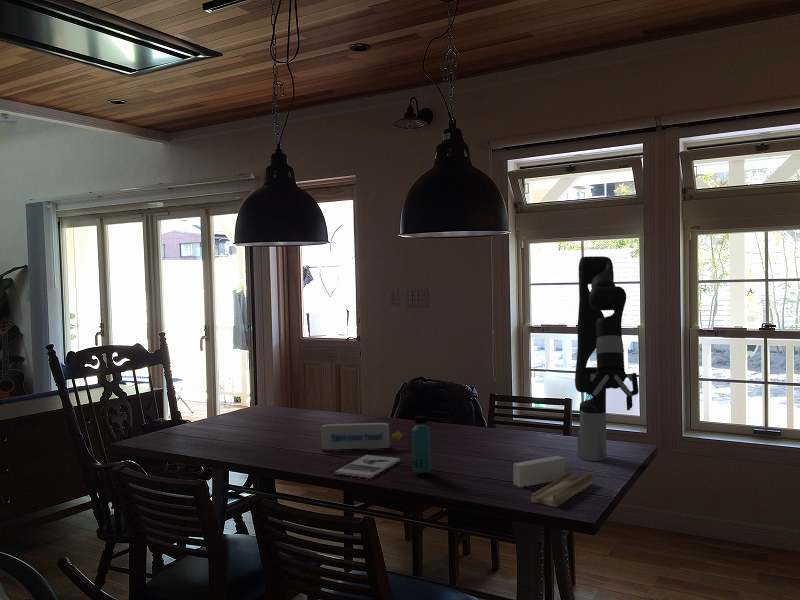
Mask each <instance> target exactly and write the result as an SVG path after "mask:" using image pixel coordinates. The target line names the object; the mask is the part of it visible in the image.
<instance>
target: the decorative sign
mask: <svg viewBox="0 0 800 600" xmlns="http://www.w3.org/2000/svg"><path fill="white" fill-rule="evenodd" d="M320 435H321V436H320V439H321V441H320V443H321V444H320V445H321V450H322V449H352V448H388V449H390V447H391V444H390V424H389V423H387V422H369V423H368V422H366V423H363V422H362V423H361V422H360V423H333V424H331V423H330V424H323V425H322V426H321V428H320ZM403 435H404V434H403V433H402V432H400V431H396V433H392V434H391V437H392V438H396V440H399V439H401V438H402V437H403Z"/></svg>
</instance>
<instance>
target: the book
mask: <svg viewBox="0 0 800 600" xmlns="http://www.w3.org/2000/svg"><path fill="white" fill-rule="evenodd" d="M399 461H400V462H401V458H400V457H392V456H382V455H372V454H365V455H363V456H361V457H359V458H358V459H356V460H354V461H352V462H350V463H348V464H346V465H344V466H342V467H340V468H339V469H337V470H335V471H334V474H335V473H337V474H345V475H352V476H359V477H366V478H372V477H374V476H375V475H377V474H379V473H380V472H382V471H384V470H385V469H387V468H389V467H391V466H392V465H394V464H396V463H397V462H399ZM400 462H399V463H400ZM397 464H398V463H397ZM397 464H396V465H397ZM394 466H395V465H394ZM392 467H393V466H392ZM392 467H391V468H392ZM389 469H390V468H389ZM384 472H385V471H384ZM379 475H380V474H379ZM374 478H375V477H374Z"/></svg>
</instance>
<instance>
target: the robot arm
mask: <svg viewBox="0 0 800 600" xmlns="http://www.w3.org/2000/svg"><path fill="white" fill-rule="evenodd" d="M613 265H614V264H613V261H612V259H611V258H610V257H608V256H597V255H595V256H592V255H590V256H582V257H581V258H580V259H579V263H578V295H579V296H578V312H577V313H578V314H577V315H578V317H577V351H576V353H577V354H576V365H575V373H574V374H575V375H574V387H575V390H576V391H577V392H578V393H585V394H586V395H589V396H591V397H590V398H589V399H586V400H584V401H582V402H580V404H579V430H578V431H577V456H578V458H581V459H582V460H585V461H590V462H591V461H592V462H602V461H605V460H607V457H608V455H607V454H608V452H607V451H608V450H607V447H608V446H607V389H613V390H614V389H615V390H618V389H620V390H622V391H623V393H624V394H625V396H626V398H625V399H626V401H625V402H626V411H630V410H631V409H632V408H633V397H634V396H637V395H638V394H639V384H638V383H639V382H638V376H637V375H638V374H637V373H636V372H632V373H626V370H625V356H624V355H625V349H624V344H623V343H624V342H623V331H622V330H623V329H622V323H623V321H622V320H623V314H624V309H625V307H626V303H627V293H626V290H625V289H624V288H623V287H621V286H616V284H615V281H614V280H615V278H614V276H615V275H614V274H615V273H614V266H613ZM589 284H591V289H590V288H589ZM603 311H613V313H612V314H610V315H609V316H605V315H604V313H603ZM594 352H596V353H595V354H596V366H587V365H588V363H589V362H588V361H589V359H590V357H591V356H592V354H593V353H594ZM626 379H628V381H629V382H631V384H632V390H630V389H629V388H628V386H627V385H626V384H625V383H624V382H625V381H626Z"/></svg>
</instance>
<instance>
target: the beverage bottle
mask: <svg viewBox="0 0 800 600" xmlns="http://www.w3.org/2000/svg"><path fill="white" fill-rule="evenodd" d="M427 418H428V417H427V416H426V415H416V416H414V423H415V424H417V425H414V426H413V427H412V429H411V434H412V439H411V445H412V456H411V457H412V461H411V462H412V470H413V472H416V473H429V472H431V470H432V457H431V455H432V453H431V452H432V450H431V428H430V427H429V426H428V425H425V424H426V423H428V419H427Z"/></svg>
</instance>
